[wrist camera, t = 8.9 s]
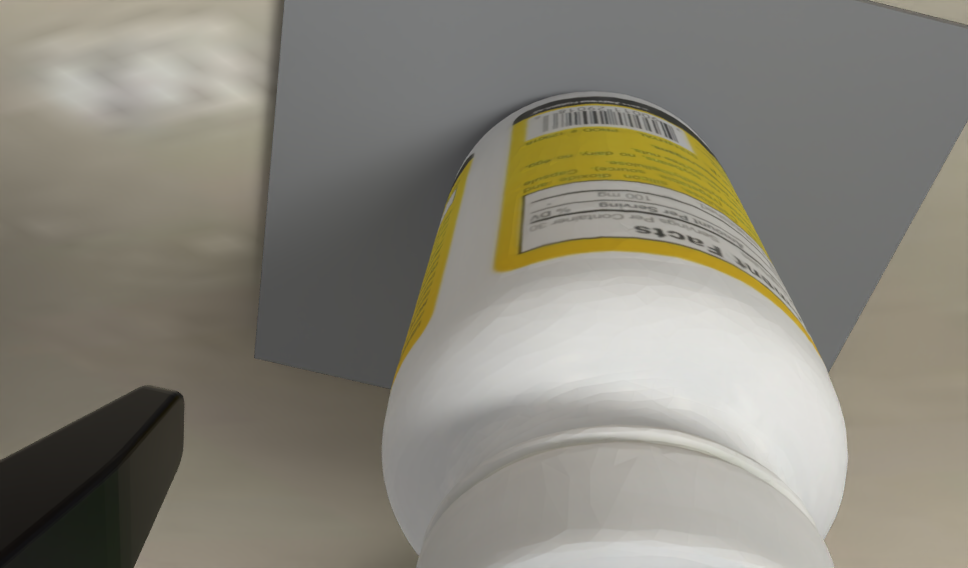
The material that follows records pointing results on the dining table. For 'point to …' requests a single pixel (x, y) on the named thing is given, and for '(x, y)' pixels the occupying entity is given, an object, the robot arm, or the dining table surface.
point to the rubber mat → (581, 68)
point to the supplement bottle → (608, 362)
